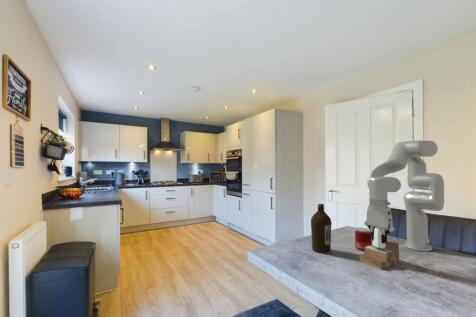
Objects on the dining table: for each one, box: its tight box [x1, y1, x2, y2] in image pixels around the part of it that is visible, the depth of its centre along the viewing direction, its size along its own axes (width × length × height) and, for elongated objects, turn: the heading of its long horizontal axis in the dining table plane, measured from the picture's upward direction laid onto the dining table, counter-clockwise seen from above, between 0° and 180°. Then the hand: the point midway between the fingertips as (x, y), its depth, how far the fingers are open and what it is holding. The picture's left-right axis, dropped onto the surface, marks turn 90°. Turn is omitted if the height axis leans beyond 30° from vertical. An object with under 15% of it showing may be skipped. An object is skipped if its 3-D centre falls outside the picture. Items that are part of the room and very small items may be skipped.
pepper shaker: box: [372, 227, 386, 248], centre depth 109 cm, size 5×5×11 cm
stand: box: [359, 239, 400, 271], centre depth 108 cm, size 15×11×10 cm
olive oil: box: [310, 203, 333, 254], centre depth 124 cm, size 11×11×25 cm
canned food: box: [354, 227, 373, 253], centre depth 125 cm, size 8×8×11 cm
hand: (379, 241), depth 109 cm, fingers closed on pepper shaker, 3 cm apart
